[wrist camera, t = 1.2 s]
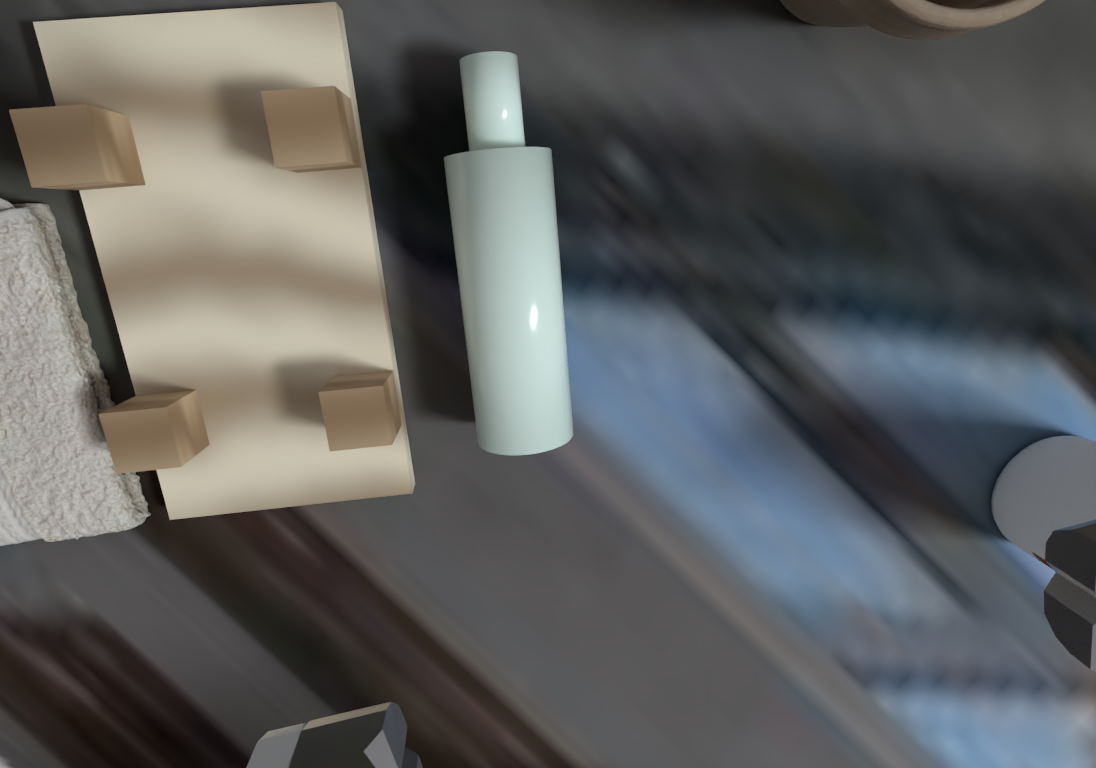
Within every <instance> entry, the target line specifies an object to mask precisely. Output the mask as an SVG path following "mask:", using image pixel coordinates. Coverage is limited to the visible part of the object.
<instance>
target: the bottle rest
mask: <svg viewBox="0 0 1096 768" xmlns="http://www.w3.org/2000/svg"><path fill="white" fill-rule="evenodd" d="M33 25H34V28H35V32H36V36H37V39H38V43H39V46H40V50H41V54H42V57H43V61H44V65H45V68H46V72H47V75H48V79H49V83H50V86H51V90H52V94H53V97H54V101H55V104H56V106H52V107H38V108H24V109H11V110H9V112H10V115H11V119H12V122H13V126H14V129H15V132H16V136H17V139H18V143H19V146H20V149H21V153H22V156H23V159H24V163H25V166H26V170H27V173H28V176H29V180H30V183H31V187H35V188H50V189H65V190H79V192H80V195H81V199H82V202H83V206H84V210H85V213H86V217H87V221H88V224H89V228H90V231H91V235H92V239H93V242H94V246H95V250H96V253H97V257H98V260H99V264H100V268H101V271H102V275H103V279H104V282H105V286H106V289H107V293H108V297H109V300H110V304H111V308H112V311H113V315H114V318H115V322H116V326H117V329H118V333H119V337H120V340H121V344H122V347H123V351H124V355H125V358H126V362H127V366H128V369H129V373H130V377H131V380H132V384H133V387H134V391H135V395H136V396H134V397H132V398H130V399H128V400H126V401H124V402H122V403H120V404H118V405H116V406H114V407H112V408H110V409H108V410H106V411H104V412H102V413H100V414H99V417H100V420H101V424H102V427H103V430H104V434H105V437H106V441H107V444H108V447H109V451H110V454H111V458H112V461H113V464H114V468H115V471H116V474H120V473H130V472H139V471H149V470H156V471H157V474H158V478H159V482H160V485H161V489H162V493H163V496H164V500H165V503H166V507H167V511H168V514H169V518H170V520H173V519H182V518H191V517H200V516H209V515H218V514H227V513H237V512H246V511H255V510H264V509H273V508H282V507H292V506H301V505H310V504H319V503H328V502H337V501H346V500H356V499H365V498H374V497H383V496H392V495H401V494H410V493H413V490H414V486H415V480H414V473H413V467H412V460H411V454H410V447H409V441H408V434H407V428H406V421H405V415H404V408H403V402H402V395H401V388H400V382H399V375H398V369H397V362H396V356H395V349H394V343H393V336H392V330H391V323H390V317H389V310H388V304H387V297H386V291H385V284H384V278H383V271H382V265H381V258H380V252H379V245H378V239H377V232H376V226H375V219H374V213H373V206H372V200H371V193H370V187H369V180H368V174H367V167H366V161H365V154H364V148H363V141H362V135H361V128H360V122H359V115H358V109H357V102H356V96H355V89H354V83H353V76H352V70H351V63H350V57H349V50H348V44H347V37H346V31H345V24H344V18H343V11H342V9H341V8H340V7H339V5H338V4H337V3H336V2H326V3H311V4H296V5H281V6H266V7H251V8H236V9H221V10H206V11H191V12H176V13H160V14H145V15H130V16H115V17H100V18H85V19H70V20H55V21H40V22H33Z"/></svg>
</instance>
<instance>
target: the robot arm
mask: <svg viewBox="0 0 1096 768" xmlns="http://www.w3.org/2000/svg"><path fill="white" fill-rule="evenodd" d="M1045 561H1046V562H1047V563H1048V564H1049V565H1050V566H1051V567H1052V568H1053V569H1054V570H1055V571H1056V573H1055V575H1054V576H1053V578H1052V579H1051V581H1050V582H1049V584H1048V585H1047V587H1046V588H1045V590H1044V614H1045V616H1046V618H1047V620H1048V622H1049V624H1050V626H1051V628H1052V630H1053V632H1054V634H1055V636H1056V638H1057V639H1058V640H1059V641H1060V642H1061V643H1062V645H1063V646H1064V647H1065V648H1066V649H1067V650H1068V651H1069V653H1070V654H1072V655H1073V656H1074V657H1075V658H1077V659H1078V660H1079V661H1080V662H1082V663H1083V664H1084V665H1086V666H1087V667H1088V668H1089V669H1091V670H1094V671H1096V519H1095V520H1091V521H1087V522H1084V523H1080V524H1076V525H1072V526H1069V527H1065V528H1061V529H1058V530H1054V531H1053V532H1052V534H1051V535H1050V537H1049V538H1048V540H1047V541H1046V549H1045ZM406 733H407V724H406V721H405V719H404V717H403V714H402V712H401V709H400V707H399V705H398V704H396V703H393V702H389V703H384V704H380V705H376V706H371V707H367V708H363V709H358V710H354V711H350V712H346V713H341V714H337V715H333V716H328V717H324V718H320V719H315V720H311V721H309V722H308V723H302V724H298V725H294V726H289V727H285V728H281V729H276V730H272V731H268V732H267V733H266V734H265V735H264V736H263V737H262V738H261V739H260V740H259V741H258V742H257V744H256V746H255V748H254V750H253V753H252V755H251V757H250V760H249V762H248V765H247V767H246V768H423V767H422V764H421V761H420V759H419V756H418V754H416V753H415V752H413V751H411V750H410V749H408V748H406V747H405V740H406Z"/></svg>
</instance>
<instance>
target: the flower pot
mask: <svg viewBox="0 0 1096 768" xmlns="http://www.w3.org/2000/svg"><path fill="white" fill-rule="evenodd" d="M1044 1H1045V0H780V2H781V3H782V4H783V5H784V7H785V8H786V9H787V10H788V11H789V12H790V13H792V14H793V15H794V16H796V17H797V18H799V19H800V20H802V21H804V22H807V23H810V24H813V25H817V26H830V27H860V26H871V27H873V28H874V29H877V30H879V31H881V32H884V33H886V34H889V35H892V36H896V37H901V38H907V39H916V40H932V39H940V38H947V37H951V36H956V35H960V34H964V33H968V32H971V31H974V30H977V29H982V28H987V27H990V26H994V25H997V24H1000V23H1003V22H1005V21H1008V20H1011V19H1013V18H1015V17H1017V16H1020V15H1022V14H1024V13H1026V12H1028V11H1029V10H1031V9H1033V8H1034V7H1036V6H1038V5H1039V4H1041V3H1042V2H1044Z"/></svg>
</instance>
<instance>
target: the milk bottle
mask: <svg viewBox="0 0 1096 768" xmlns="http://www.w3.org/2000/svg"><path fill="white" fill-rule="evenodd" d="M991 503H992V513H993V517H994V520H995V522H996V524H997V526H998V528H999V529H1000V531H1001V532H1002V534H1003V535H1004V536H1005V537H1006V538H1007V539H1008V540H1009V541H1011V542H1012V543H1013V544H1015V545H1016V546H1018V547H1019V548H1021V549H1022V550H1024V551H1025V552H1027V553H1028V554H1030V555H1031V556H1033V557H1035V558H1036V559H1038V560H1039V561H1041V562H1042V563H1044V564H1046V565H1047V566H1049V567H1050V568H1052V567H1051V566H1050V565H1049V564H1048V563H1047V562H1046V561H1045V549H1046V541H1047V540H1048V538H1049V537H1050V535H1051V534H1052V532H1053V531H1054V530H1058V529H1061V528H1065V527H1069V526H1072V525H1076V524H1080V523H1084V522H1087V521H1091V520H1095V519H1096V442H1095V441H1092V440H1089V439H1086V438H1083V437H1078V436H1056V437H1050V438H1046V439H1042V440H1039V441H1037V442H1035V443H1033V444H1031V445H1029V446H1027V447H1026V448H1025V449H1023V450H1021V451H1020V452H1019V453H1018V454H1017V455H1015V456H1014V457H1013V458H1012V459H1011V460H1010V461H1009V462H1008V464H1007V465H1006V466H1005V467H1004V469H1003V470H1002V472H1001V474H1000V475H999V477H998V479H997V481H996V484H995V487H994V489H993V495H992V500H991ZM1052 569H1053V568H1052ZM1053 570H1054V569H1053Z"/></svg>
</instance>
